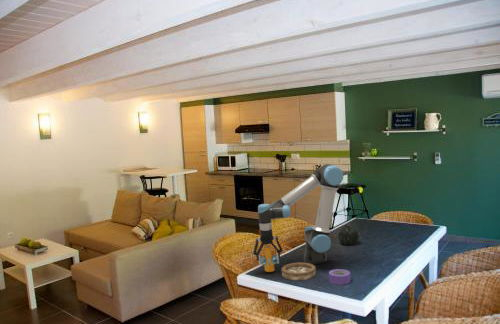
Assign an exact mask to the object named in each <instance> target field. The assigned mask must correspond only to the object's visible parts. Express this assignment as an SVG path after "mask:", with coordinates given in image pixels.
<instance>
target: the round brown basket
mask: <svg viewBox="0 0 500 324" xmlns="http://www.w3.org/2000/svg"><path fill="white" fill-rule="evenodd" d="M316 271H317V267H316V266H315V264H309V263H306V262H290V263H288V264H287V263H286V264H284V265H283V266H282V267H281V276H282V277H283V278H284V279H286V280H289V281H307V280H310V279H312V278H314V277H315V276H316V275H317V274H316Z"/></svg>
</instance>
